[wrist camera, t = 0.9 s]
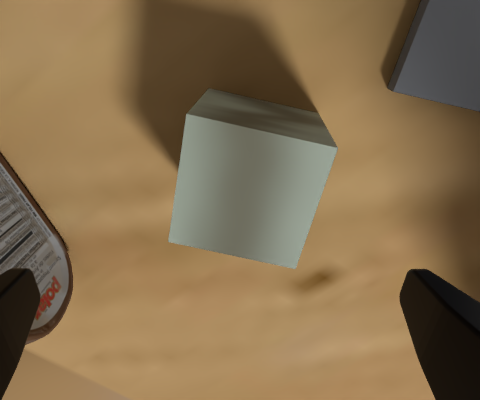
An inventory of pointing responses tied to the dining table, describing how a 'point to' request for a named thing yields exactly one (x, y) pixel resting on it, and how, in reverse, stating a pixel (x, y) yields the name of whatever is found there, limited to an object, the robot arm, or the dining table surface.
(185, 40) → the dining table surface
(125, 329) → the dining table surface
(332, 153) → the sage block
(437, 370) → the robot arm
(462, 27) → the gray board
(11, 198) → the tin
